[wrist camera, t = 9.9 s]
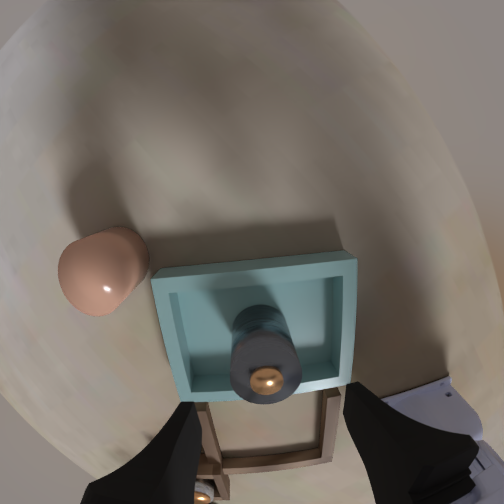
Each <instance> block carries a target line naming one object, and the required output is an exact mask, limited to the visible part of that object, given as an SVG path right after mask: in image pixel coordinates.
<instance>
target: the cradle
mask: <svg viewBox="0 0 504 504" xmlns="http://www.w3.org/2000/svg"><path fill="white" fill-rule="evenodd" d="M340 401H341V394H340V392H339V390H338V388H337V387H333V388H328V389H323V399H322V414H321V426H320V438H319V448H315V449H309V450H304V451H297V452H290V453H283V454H275V455H266V456H255V457H241V458H223V472H224V474H245V473H259V472H269V471H278V470H286V469H293V468H300V467H306V466H312V465H317V464H322V463H327V462H332V458H333V452H334V446H335V439H336V432H337V425H338V418H339V410H340ZM194 403H195V407H196V410H197V414H198V417H199V420H200V424H201V427H202V445H203V448H204V451H205V454H206V457H207V460H208V463H209V464H221V450H220V446H219V443H218V439H217V436H216V432H215V428H214V425H213V421H212V417H211V413H210V409H209V405H208V402H194Z"/></svg>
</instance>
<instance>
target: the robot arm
mask: <svg viewBox="0 0 504 504" xmlns="http://www.w3.org/2000/svg"><path fill="white" fill-rule="evenodd" d="M451 381H452V378H451V377H450V376H448V377H446V378H443V379H440V380H438V381H435V382H432V383H430V384H427V385H424V386H421V387H418V388H415V389H412V390H409V391H406V392H403V393H400V394H397V395H393V396H390V397H386V398H383V399H380V398H378V397H377V396H376V395H374V394H373V393H372V392H371V391H369V390H368V389H367V388H366V387H365V386H363V385H362V384H361V383H359V382H354V383H349V384H346V393H345V401H344V409H343V415H344V418H345V422H346V425H347V428H348V431H349V433H350V435H351V437H352V439H353V442H354V444H355V446H356V448H357V450H358V452H359V454H360V456H361V458H362V461H363V463H364V465H365V468H366V471H367V474H368V477H369V480H370V483H371V487H372V491H373V494H374V498H375V502H376V504H504V462H503V460H502V459H501V458H500V457H499V455H498V454H497V453H496V452H495V451H494V450H493V449H492V448H491V447H490V446H489V445H488V444H487V443H486V442H485V441H484V440H482V435H483V428H482V424H481V420H480V418H479V416H478V414H477V413H476V412H475V411H474V409H473V408H472V407H471V406H470V405H469V404H468V403H467V402H466V401H465V400H464V399H463V398H462V396H461V395H460V394H459V393H458V392H457V391H456V390H455V389H454V388H453V387H452V386H451V385H450V384H451ZM201 447H202V427H201V424H200V420H199V417H198V414H197V410H196V407H195V403H194V401H182V402H181V403H180V404H179V405H178V407H177V408H176V410H175V411H174V413H173V414H172V416H171V417H170V418H169V420H168V421H167V423H166V424H165V425H164V426H163V428H162V429H161V430H160V432H159V433H158V434H157V435H156V436H155V437H154V439H153V440H152V441H151V442H150V443H149V444H148V445H147V446H146V447H145V448H144V449H143V450H142V451H141V452H140V453H139V454H137V455H136V456H135V457H134V458H133V459H131V460H130V461H129V462H127V463H126V464H125V465H123V466H122V467H120V468H119V469H117V470H115V471H114V472H112V473H110V474H108V475H106V476H104V477H102V478H100V479H98V480H96V481H94V482H91V483H89V485H88V486H87V488H86V490H85V493H84V495H83V498H82V501H81V503H80V504H194V492H195V482H196V476H197V470H198V465H199V459H200V453H201Z"/></svg>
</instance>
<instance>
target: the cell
mask: <svg viewBox="0 0 504 504" xmlns="http://www.w3.org/2000/svg"><path fill="white" fill-rule="evenodd" d="M301 380H302V368H301V365H300V362H299V359H298V356H297V353H296V350H295V347H294V343H293V340H292V337H291V334H290V331H289V328H288V325H287V322H286V320H285V317H284V316H283V314H282V313H281V312H280V311H279V310H277V309H276V308H274V307H272V306H269V305H262V304H259V305H253V306H250V307H247V308H245V309H244V310H242V311H241V312H240V313H239V314H238V315H237V316H236V318H235V320H234V322H233V326H232V343H231V362H230V383H231V386H232V389H233V390H234V392H235V393H236V394H237V395H238V396H239V397H241V398H242V399H244V400H246V401H248V402H251V403H256V404H272V403H276V402H279V401H282V400H284V399H286V398H288V397H289V396H291V395H292V394H293V393H294V392H295V391H296V390H297V388H298V387H299V385H300V383H301Z"/></svg>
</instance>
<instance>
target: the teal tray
mask: <svg viewBox="0 0 504 504" xmlns="http://www.w3.org/2000/svg"><path fill="white" fill-rule="evenodd" d="M151 284H152V289H153V294H154V299H155V304H156V309H157V313H158V318H159V322H160V327H161V331H162V335H163V339H164V343H165V347H166V351H167V355H168V359H169V363H170V366H171V370H172V373H173V377H174V381H175V384H176V387H177V391H178V394H179V397H180V401H181V402H182V401H194V402H213V401H232V400H244V399H242V398H241V397H239V396H238V395H237V394H236V393H235V392H234V390H233V389H232V386H231V383H230V362H231V343H232V326H233V322H234V320H235V318H236V316H237V315H238V314H239V313H240V312H241V311H242V310H244V309H245V308H247V307H250V306H253V305H259V304H262V305H269V306H272V307H274V308H276V309H277V310H279V311H280V312H281V313H282V314H283V316H284V317H285V320H286V322H287V325H288V328H289V331H290V334H291V337H292V340H293V343H294V347H295V350H296V353H297V356H298V359H299V362H300V365H301V368H302V380H301V383H300V385H299V387H298V388H297V390H296V391H295V392H294V393H293V394H297V393H304V392H310V391H316V390H322V389H328V388H333V387H338V386H343V385H346V384H349V383H350V382H351V373H352V363H353V352H354V340H355V325H356V305H357V258H356V257H354V256H353V255H351V254H349V253H348V252H346V251H345V250H341V251H332V252H322V253H312V254H303V255H293V256H283V257H273V258H263V259H253V260H243V261H232V262H222V263H212V264H201V265H190V266H180V267H169V268H160V269H159V270H158V272H157V273H156V274H155V275H154V276H153V277H152V278H151Z"/></svg>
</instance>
